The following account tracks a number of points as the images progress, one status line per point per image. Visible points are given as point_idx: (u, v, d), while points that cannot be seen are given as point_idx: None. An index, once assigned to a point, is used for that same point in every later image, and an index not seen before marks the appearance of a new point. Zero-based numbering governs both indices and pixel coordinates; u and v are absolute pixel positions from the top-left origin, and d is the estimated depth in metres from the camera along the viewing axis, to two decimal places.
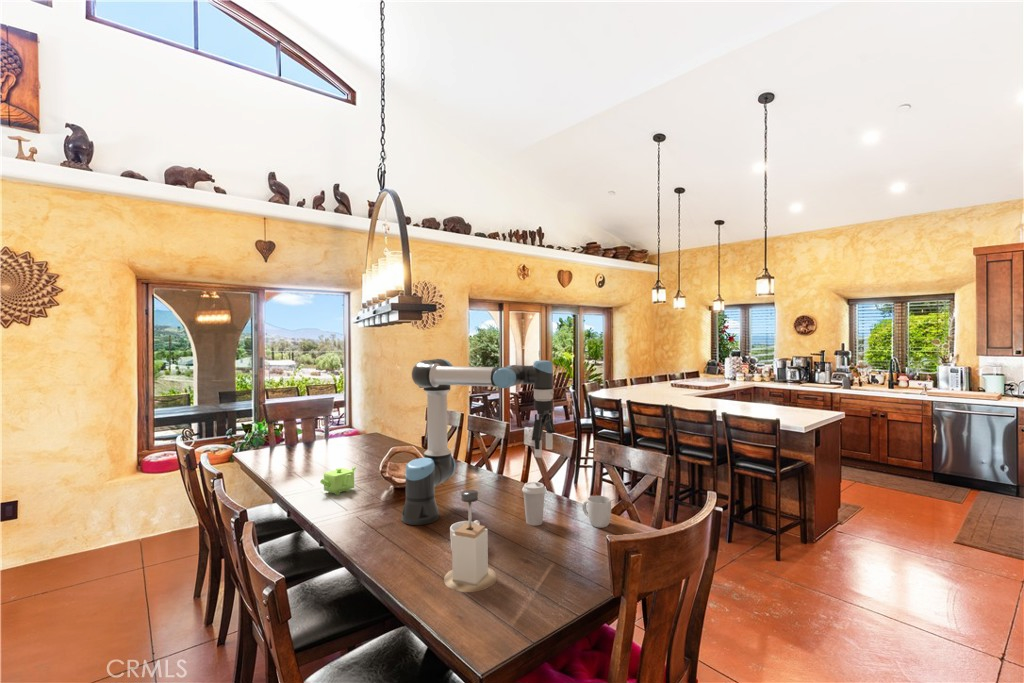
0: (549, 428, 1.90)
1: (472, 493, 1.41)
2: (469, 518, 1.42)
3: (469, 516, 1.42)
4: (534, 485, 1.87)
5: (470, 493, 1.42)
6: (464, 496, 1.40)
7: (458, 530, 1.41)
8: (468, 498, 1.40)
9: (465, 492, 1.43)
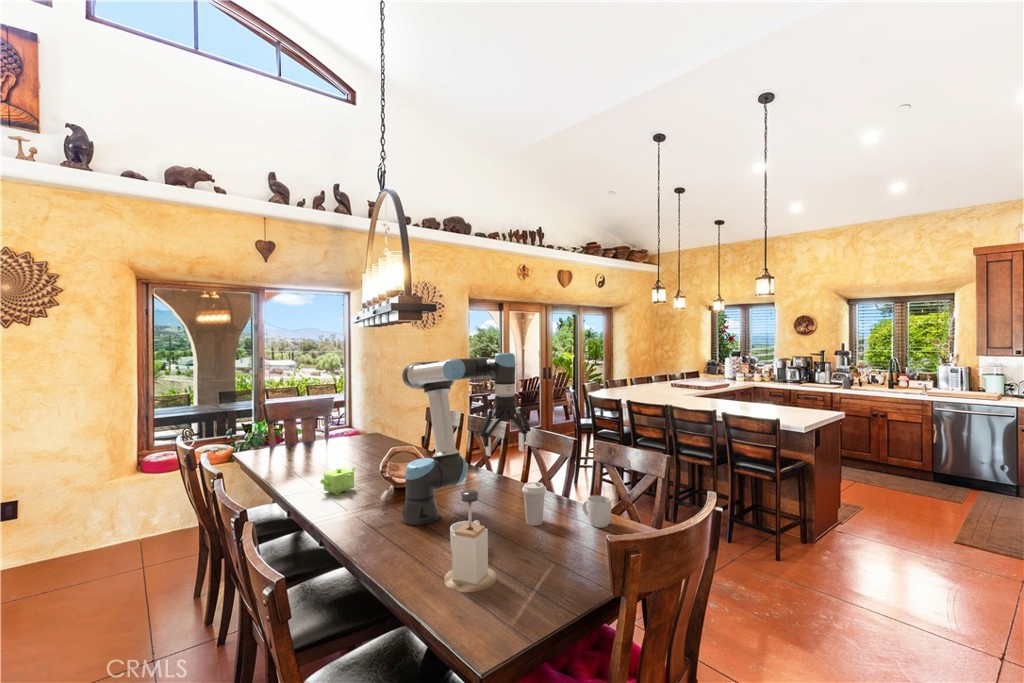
0: (519, 427, 1.73)
1: (472, 493, 1.41)
2: (469, 518, 1.42)
3: (469, 516, 1.42)
4: (534, 485, 1.87)
5: (470, 493, 1.42)
6: (464, 496, 1.40)
7: (458, 530, 1.41)
8: (468, 498, 1.40)
9: (465, 492, 1.43)
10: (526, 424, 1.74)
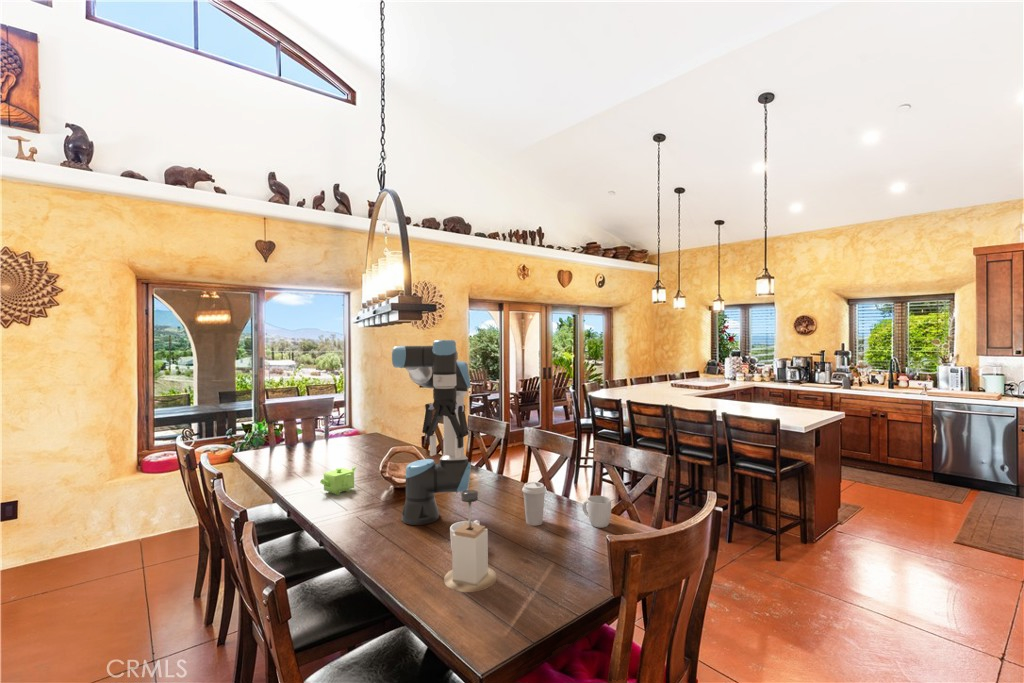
0: None
1: (472, 493, 1.41)
2: (469, 518, 1.42)
3: (469, 516, 1.42)
4: (534, 485, 1.87)
5: (470, 493, 1.42)
6: (464, 496, 1.40)
7: (458, 530, 1.41)
8: (468, 498, 1.40)
9: (465, 492, 1.43)
10: (461, 427, 1.49)
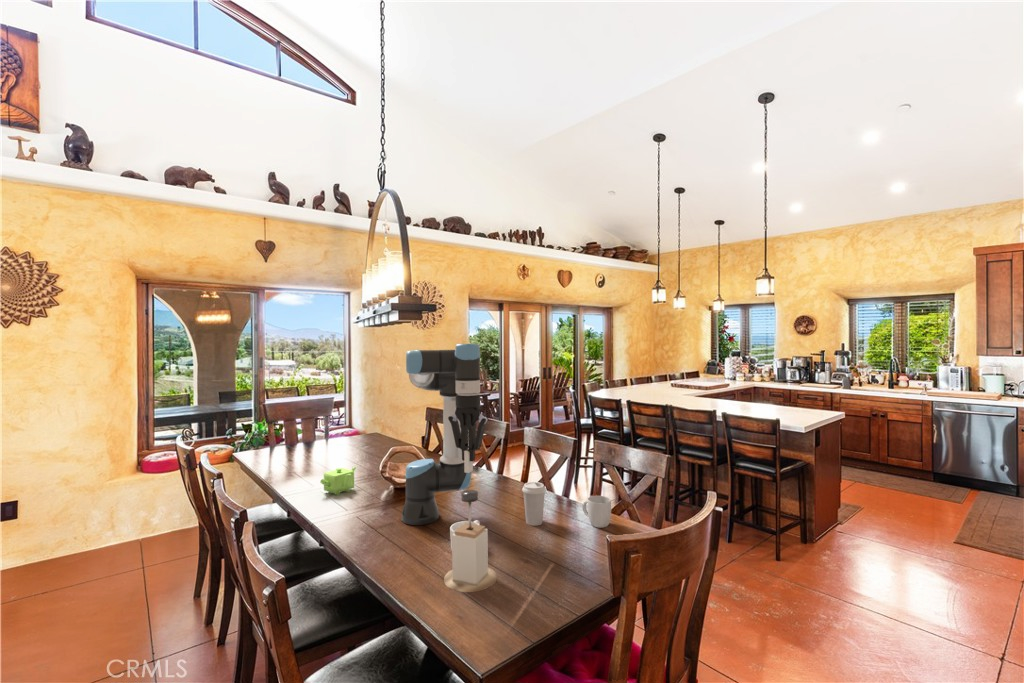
0: None
1: (472, 493, 1.41)
2: (469, 518, 1.42)
3: (469, 516, 1.42)
4: (534, 485, 1.87)
5: (470, 493, 1.42)
6: (464, 496, 1.40)
7: (458, 530, 1.41)
8: (468, 498, 1.40)
9: (465, 492, 1.43)
10: (476, 439, 1.40)
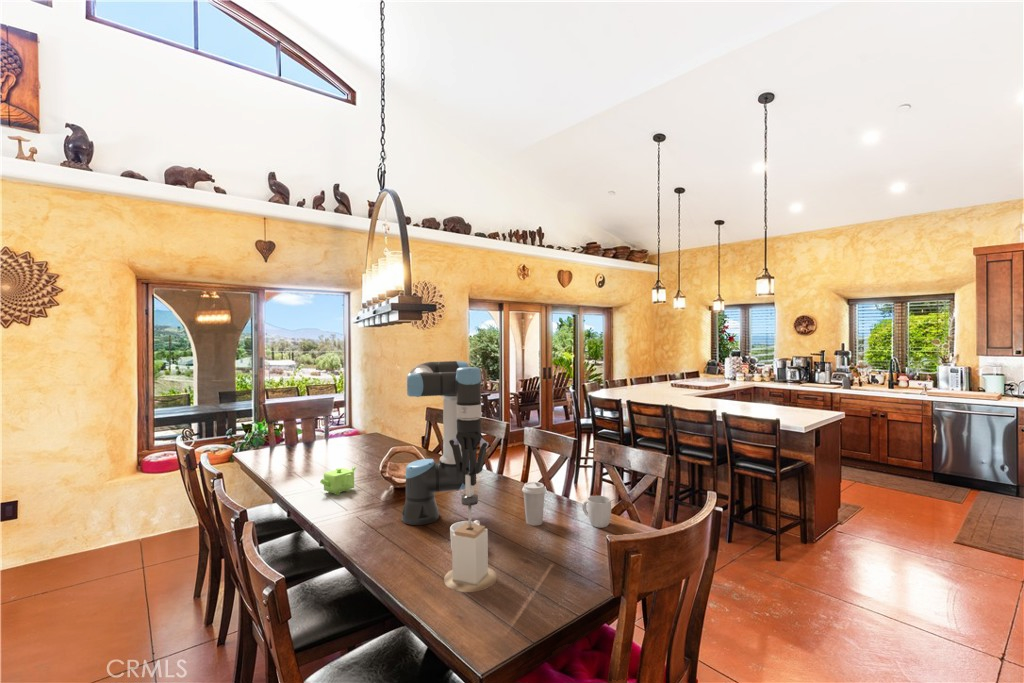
0: None
1: (472, 497, 1.41)
2: (469, 521, 1.42)
3: (469, 519, 1.42)
4: (534, 485, 1.87)
5: None
6: (464, 499, 1.40)
7: (458, 530, 1.41)
8: (468, 501, 1.40)
9: (465, 495, 1.43)
10: (478, 464, 1.40)
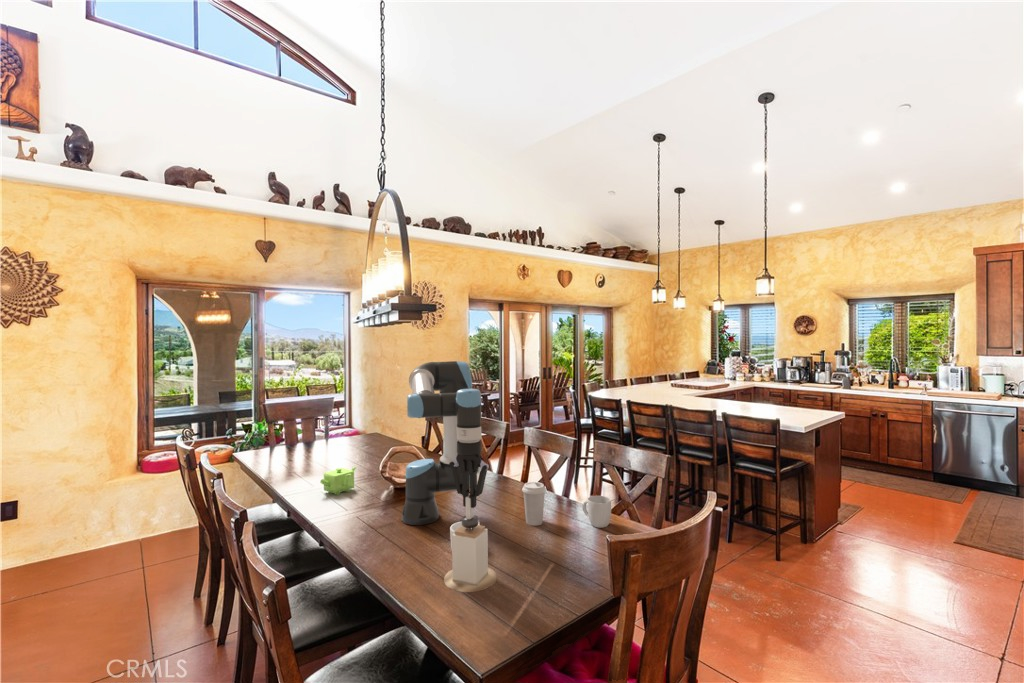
0: None
1: (472, 519, 1.41)
2: None
3: None
4: (534, 485, 1.87)
5: None
6: (464, 522, 1.40)
7: (458, 530, 1.41)
8: (468, 524, 1.40)
9: (465, 517, 1.43)
10: (478, 486, 1.40)
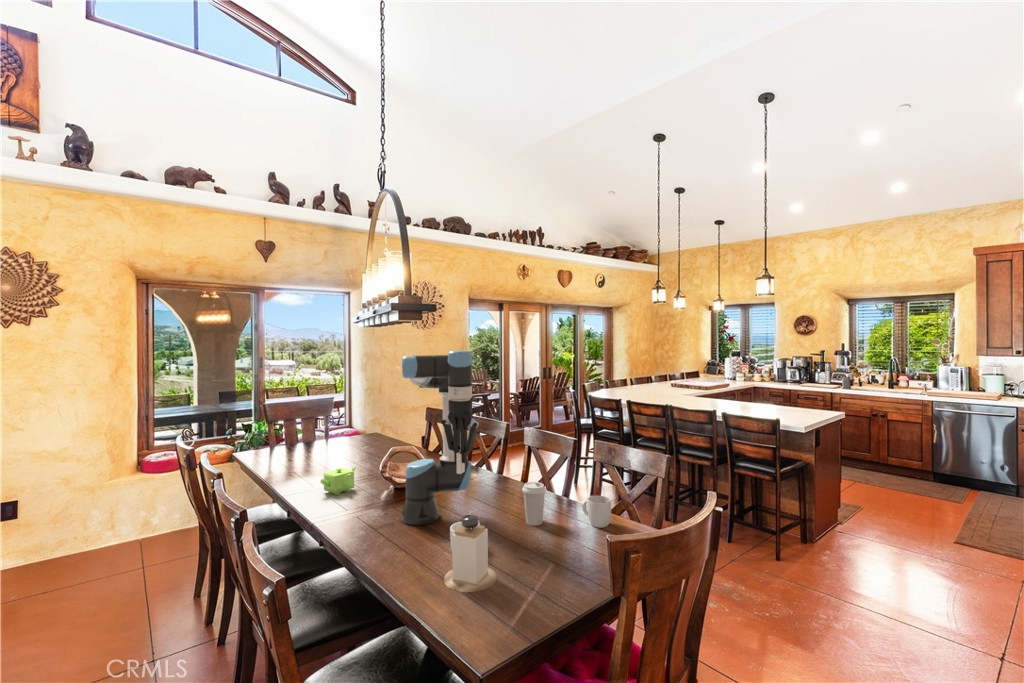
0: None
1: (472, 519, 1.41)
2: None
3: None
4: (534, 485, 1.87)
5: (470, 518, 1.42)
6: (464, 522, 1.40)
7: (458, 530, 1.41)
8: (468, 524, 1.40)
9: (465, 517, 1.43)
10: (468, 442, 1.47)
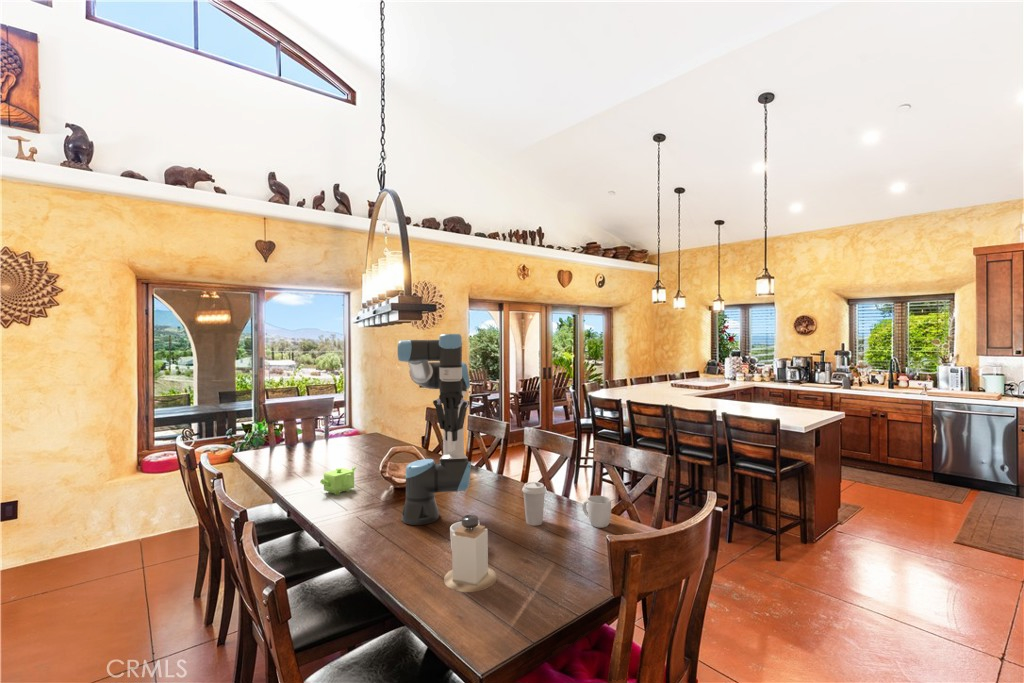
0: None
1: (472, 519, 1.41)
2: None
3: None
4: (534, 485, 1.87)
5: (470, 518, 1.42)
6: (464, 522, 1.40)
7: (458, 530, 1.41)
8: (468, 524, 1.40)
9: (465, 517, 1.43)
10: (458, 421, 1.53)
